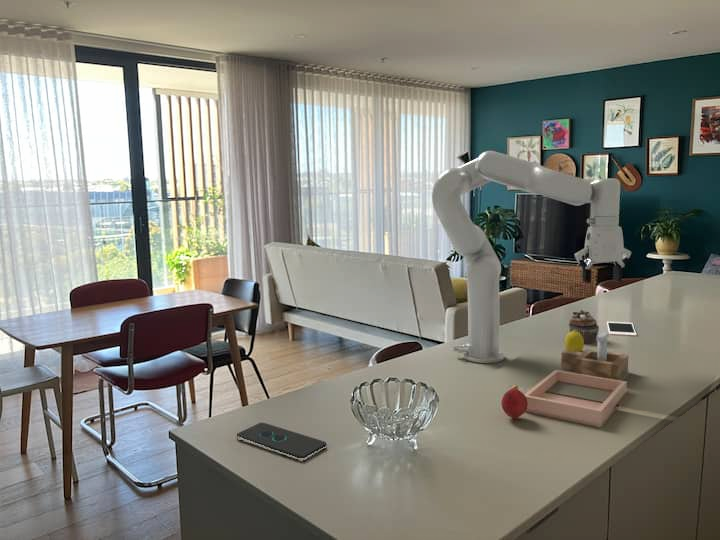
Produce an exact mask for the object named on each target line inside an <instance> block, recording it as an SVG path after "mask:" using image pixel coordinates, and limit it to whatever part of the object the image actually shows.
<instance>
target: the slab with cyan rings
mask: <svg viewBox="0 0 720 540" xmlns="http://www.w3.org/2000/svg"><path fill="white" fill-rule="evenodd" d="M237 436H239V437H242V438H244V439H247V440H250V441H253V442H255V443H258V444H261V445H264V446H266V447H269V448H271V449H274V450H278V451H280V452H283V453H286V454H289V455H292V456H295V457H297V458H305V457H307V456H308V455H310V454H312V453H314V452H315V451H318V450H319V449H321V448H323V447H325V446H326V447H327V442H326V441H324V440H320V439H318V438H314V437H311V436H309V435H305V434H302V433H298V432H295V431H292V430H288V429H285V428H282V427H278V426H275V425H273V424H270V423H266V422H259V423H257V424H255V425H252V426H250V427H248V428H246V429H244V430H242V431H240V432H238V433H237V432H236V437H237Z"/></svg>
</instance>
